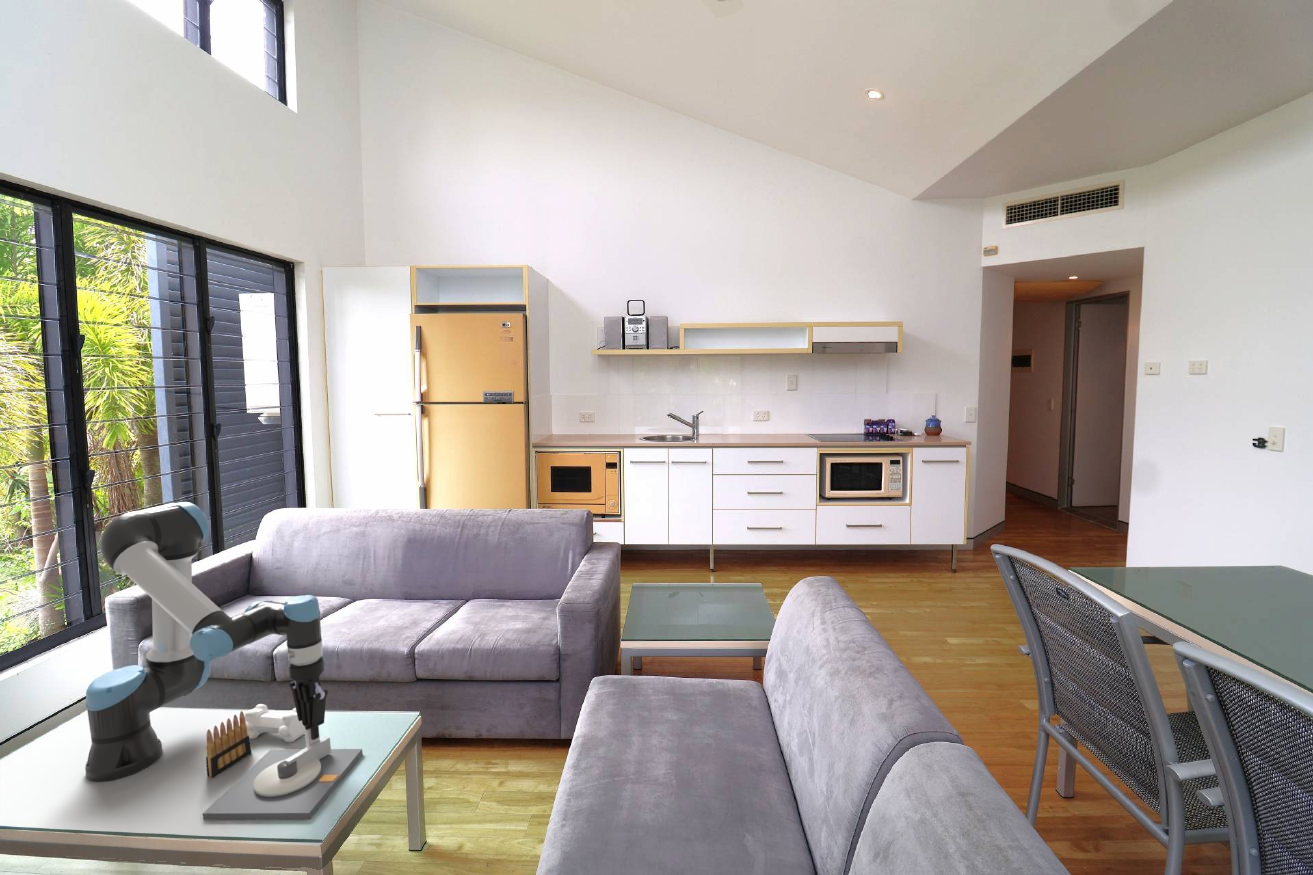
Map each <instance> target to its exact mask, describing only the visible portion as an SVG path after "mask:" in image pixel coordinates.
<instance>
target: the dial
mask: <svg viewBox="0 0 1313 875" xmlns="http://www.w3.org/2000/svg"><path fill="white" fill-rule="evenodd" d="M331 746H332V745H331V737H329V736H326V735H325V736H323V737H322V738H320V740H318V741H316V742H315V743H313V744H311V745H310V746H308V747H306V746H305V747H304V748H303V750H301V751H299V752H298V753H296V754H294V755H292V756H291V757H289V758H287V759H285V760H282V761H279V762H277V763H275V764H273V765H271V766H269V767H267V768H266V769H264V770H263V771H262V772H261V773H259V774H258V776H257V777H256V778H255V780H254V783H253V787H254V791H255V793H256V794H258V795H260V796H264V797H276V796H282V795H286V794H289V793H292V792H295V791H297V790H300V789H302V788H304V787H305V786H307V785H309V784H310V783H311V782H313V781H314V780H315V779H316V778H317V777H318V775H319V774H320V772H321V763H320V761H319V760H320V759H321V758H323V757H325V756H326V755H328V754H329V753H331V749H332V748H331Z"/></svg>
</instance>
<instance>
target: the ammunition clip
mask: <svg viewBox="0 0 1313 875" xmlns="http://www.w3.org/2000/svg"><path fill="white" fill-rule="evenodd" d="M212 734H213V735H212ZM251 747H252V746H251V739H250V738H249V735H248V733H247V725H246V722H245V712H243V711H242V710H240V713H239V717H238V716H237V714H234V715H233V720H231V719H230V718H227V719H226V726H225V723H224V722H223V721H221V722H220V727H219V728H218V726H217V725H214V727H213V732H211V730H210V729H207V731H206V747H205V748H206V756H205V763H206V777H207V778H211V779H215V778H216V777H217V776H219V775H220V774H222V773H224V772H225V771H226V770H228V769H230V768H231V767H233V766H235V765H236V764H238V763H239V762H241V761H242V760H244V759H246V758H247V757H249V756H250V755H251V753H252V748H251ZM248 755H249V756H248ZM237 762H238V763H237Z"/></svg>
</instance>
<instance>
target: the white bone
mask: <svg viewBox="0 0 1313 875" xmlns="http://www.w3.org/2000/svg"><path fill="white" fill-rule="evenodd" d="M244 716H245V722H246V725H247V733H248V735H249V739H250V740H255V739H257V738H258V737H259V735H261V734H263V733H270V734H278V735H279V736H281V737H282V739H283V742H286V743H288V744H289V743H294V742H295V741H296V740H297V739H298V738H300V737H302V736H305V726H304V725H303V724H302V721H299V720H298V716H297V712H296V707H294V708H292V710H291V711H290V712H288V713H277V712H272V711H270V710H269V709H268V706H267V705H266V704H265V703H264V704H263V703H258V704H257V705H256V706H255V707H254V708H251V709H248V710H247V711H246V712H244Z"/></svg>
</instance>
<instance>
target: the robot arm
mask: <svg viewBox="0 0 1313 875" xmlns="http://www.w3.org/2000/svg"><path fill="white" fill-rule="evenodd" d="M209 524H210V523H209V520H208V518H207V516H206V514H205V513H204V512H203V511H202V509H201V508H200V507H199V506H198V505H197V504H194V503H192V502H188V501H182V502H175V503H173V502H170V503H168V504H167V503H166V504H163V505H158V506H154V507H149V508H144V509H139V510H134V511H130V512H125V513H123V514H120V515H119V516H117V517H116V518H114V519H112V521H111V522H110V523H109V524H107V526H106V527H105V529H104V531H103V532H102V535H101V540H100V551H101V555H102V558H103V559H104V561H105V563H106V565H108V566H109V567H110V568H111V569H112V570H113V571H114V572H115V573H116V574H118V575H121V576H123V575H124V576H127V577H128V578H129V579H130V580H132V581H133V583H134V584H135V585H137V586H138V587H139V588H140V589H142V591H144V592H145V594H146V595H148V596H149V598H151V609H152V612H151V614H152V615H151V616H152V618H151V619H152V648H150V649H149V650H148V651H147V652H146V654H145V665H143V666H142V665H138V664H133V665H125V666H122V667H121V668H115V669H112V670H110V671H108V672H105V673H104V674H101V675H100V676H99V677H97V678H96V679H94V680H93V681H92V682H91V683H90V684H89V686H88V687H87V689H86V690H85V692H86V693H85V707H86V709H87V717H88V725H89V726H88V727H89V732H90V733H89V734H90V738H91V745H90V749H89V752H88V757H87V762H86V764H85V770H84V771H85V776H86V778H87V779H88V780H89V781H92V782H107V781H112V780H118V779H120V778H124V777H127V776H130V775H133V774H135V773H138V772H140V771H142V770H143V769H146V768H148V767H149V766H151V765H153V764H154V763H155V762H156V761H158V759H160V757H162V754H163V751H164V750H163V743H162V741H161V739H160V738H158V736H157V733H156V731H155V730H154V728H153V726H152V722H151V714H150V713H151V712H153V711H156V710H158V709H159V708H161V707H163V706H165V705H168V704H170V703H171V702H173V701H176V700H178V699H180V698H182V697H185V696H189V695H190V694H192V693H193V692H194V691H196V690H198V689H199V688H201V687H203V685H204V684H206V682H207V680H208V679H209V676H210V673H211V661H213V660H216V659H218V658H219V659H220V658H222V657H225V656H227V655H229V654H230V653H232V652H235V651H237V650H239V649H241V648H243V647H245V646H247V645H250V644H252V643H255V642H257V641H259V640H261V639H263V638H266V637H269V636H271V635H278V636H285V637H286V647H287V653H286V656H287V658H288V672H289V673H288V674H289V678H290V679H291V680H293V681H291V682H289V687H290V689H291V692H292V697H293V701H294V702H293V703H294V708H296V712H297V716H298V720H299V721H302V724H303V725H304V726H305V733H304V737H305V748H306V747H308V746H310V745H311V744H313V743H315V742H316V741H318V740H320V739H321V738H320V730H319V729H320V727H319V726H322V725H323V724H324V723H325V718H326V717H325V716H326V714H325V713H326V703H327V697H328V694H329V690H327V689H324V690H323V689H322V687H321V686H322V683H321V679H320V676H321V675H322V674H323V673H324V671H325V664H324V663H325V662H324V657H323V655H324V651H323V638H322V629H321V628H322V627H321V610H320V604H319V599H318V597H316V596H314V595H313V594H306V595H303V594H302V595H297V596H296V595H295V596H294V597H290V598H288V599H286V601H284V602H279V601H274V600H257V601H255V602H252V603H251V604H250V605H249V606H248V607H247V608H246V609H245V610H244V612H241V613H239V614H236V615H234V616H229V615H228V614H227V613H226V612H224V611H223V610H222V608H220V607H219V606H218V605H217V604H215V602H213V601H212V600H211V599H210V598H209V597H208V596H207V595H206V594H205V593H203V592H202V591H201V590H200V589H199V588H198V587H197V586H196V585H195V584H193V579H192V578H193V577H192V571H193V570H192V564H193V563H192V559H193V558H194V557H196V556H197V555H198V554H199V543H202V542H203V541H205V540H206V539H207V538H208V537H209V534H210V525H209Z"/></svg>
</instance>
